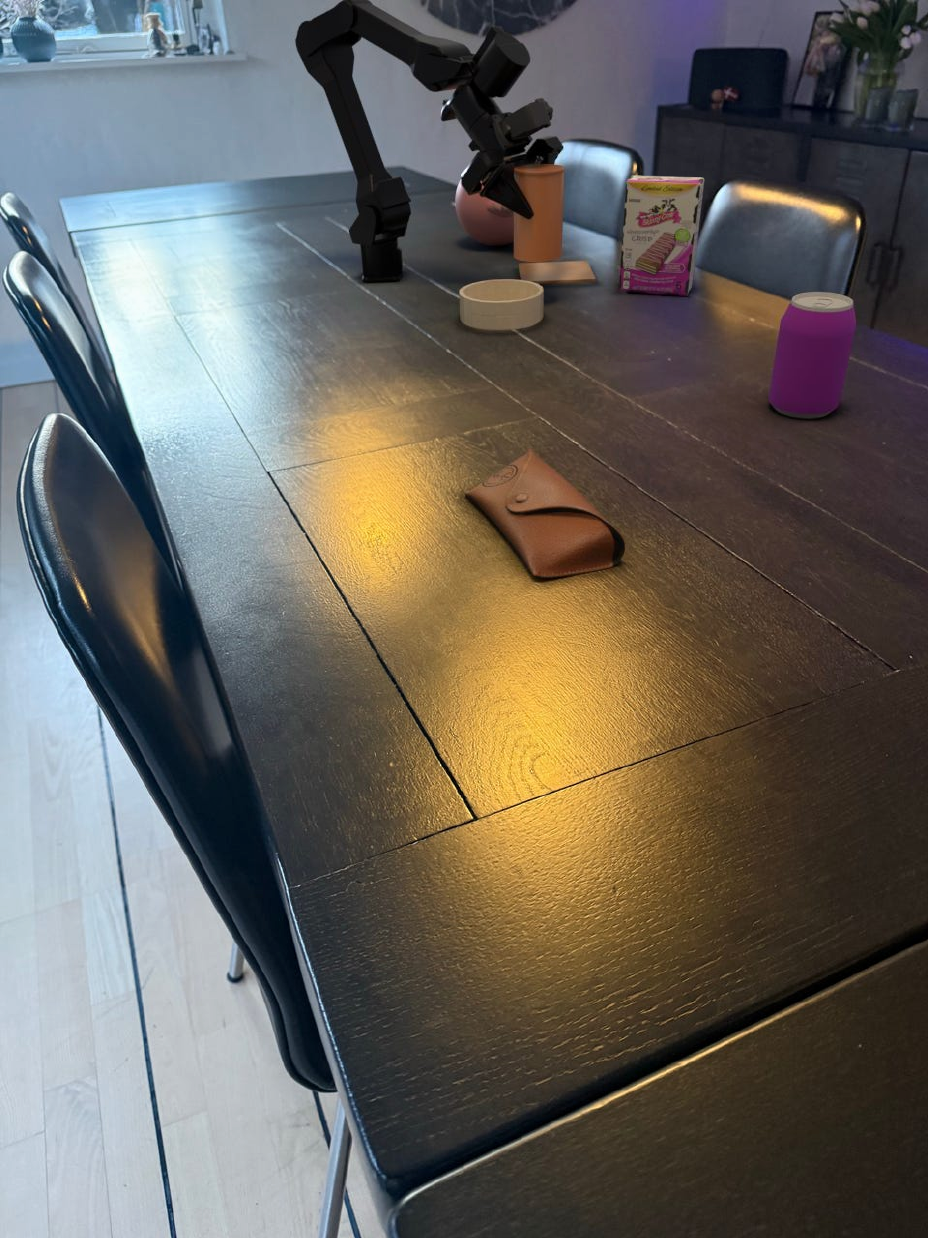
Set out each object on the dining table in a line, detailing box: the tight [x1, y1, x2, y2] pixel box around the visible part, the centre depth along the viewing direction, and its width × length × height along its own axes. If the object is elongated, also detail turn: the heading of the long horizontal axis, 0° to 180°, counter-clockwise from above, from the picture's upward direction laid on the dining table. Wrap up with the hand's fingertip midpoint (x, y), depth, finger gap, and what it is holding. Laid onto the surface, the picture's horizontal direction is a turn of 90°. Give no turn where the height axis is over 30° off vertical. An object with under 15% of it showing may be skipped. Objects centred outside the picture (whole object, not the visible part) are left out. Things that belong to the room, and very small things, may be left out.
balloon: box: [454, 179, 514, 247], centre depth 167 cm, size 15×20×15 cm
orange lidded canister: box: [513, 163, 566, 263], centre depth 131 cm, size 7×7×12 cm
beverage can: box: [768, 291, 857, 419], centre depth 98 cm, size 8×8×12 cm
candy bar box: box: [618, 175, 705, 297], centre depth 138 cm, size 11×5×16 cm, turn 71°
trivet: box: [518, 260, 596, 285], centre depth 152 cm, size 12×12×1 cm
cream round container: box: [459, 278, 545, 331], centre depth 132 cm, size 12×12×4 cm
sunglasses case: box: [463, 447, 626, 579], centre depth 81 cm, size 18×7×7 cm, turn 21°
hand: (546, 212), depth 131 cm, fingers closed on orange lidded canister, 7 cm apart
